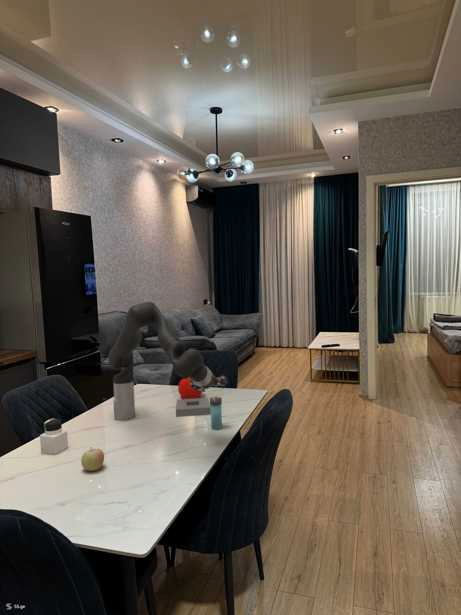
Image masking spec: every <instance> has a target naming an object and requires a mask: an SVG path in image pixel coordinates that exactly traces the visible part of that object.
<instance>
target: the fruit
mask: <svg viewBox="0 0 461 615" xmlns="http://www.w3.org/2000/svg"><path fill="white" fill-rule="evenodd" d="M104 460H105V454H104V451H103V450H102V449H100V448H92V447H90V449H88V450H86V451H84V452H83V453H82V456H81V459H80V462H81V466H82V468H83V469H84V470H86V471H91V472H93V471H97V470H100V469H101V467H102V466H103V464H104Z"/></svg>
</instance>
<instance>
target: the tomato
mask: <svg viewBox="0 0 461 615" xmlns="http://www.w3.org/2000/svg"><path fill="white" fill-rule="evenodd" d="M190 381H192V379H191V378H189V377H186V378H182V379H180V380H179V382H178V387H177V388H178V389H177V390H178V391H177V392H178V394H179V395H180V397H181V398H182V399H194V398H200V396H201V395H202V394H203V391H200V390H198V389H197V391H194V390H193V389H192V388H191V384H190Z"/></svg>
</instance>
